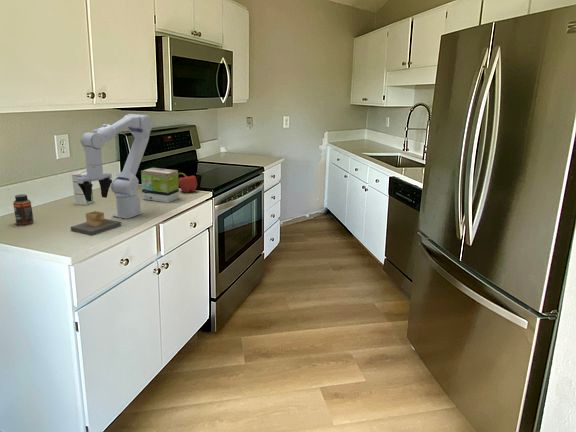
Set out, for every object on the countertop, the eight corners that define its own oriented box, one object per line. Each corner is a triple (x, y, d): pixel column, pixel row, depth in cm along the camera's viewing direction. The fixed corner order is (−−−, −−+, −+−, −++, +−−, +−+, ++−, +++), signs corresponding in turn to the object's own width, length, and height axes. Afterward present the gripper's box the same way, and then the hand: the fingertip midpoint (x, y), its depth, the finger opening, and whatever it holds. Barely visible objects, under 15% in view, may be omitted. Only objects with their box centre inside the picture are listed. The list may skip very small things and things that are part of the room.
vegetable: (173, 192, 225) (172, 174, 223) (183, 188, 235) (183, 170, 232) (191, 194, 222) (190, 175, 219) (201, 190, 232) (200, 172, 229)
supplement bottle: (37, 221, 170) (33, 193, 167) (28, 225, 164) (24, 197, 161) (21, 220, 170) (17, 193, 167) (12, 225, 164) (8, 196, 161)
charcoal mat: (100, 221, 173) (100, 217, 172) (120, 225, 168) (120, 222, 168) (71, 230, 161) (70, 226, 160) (92, 235, 156) (91, 231, 156)
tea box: (141, 199, 208) (140, 170, 204) (153, 195, 218) (152, 167, 214) (168, 203, 204) (167, 172, 200) (179, 198, 214) (178, 169, 209)
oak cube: (96, 221, 167) (95, 210, 166) (104, 223, 165) (103, 212, 164) (86, 224, 163) (85, 213, 162) (95, 226, 161) (94, 215, 160)
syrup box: (85, 205, 195) (82, 174, 191) (74, 204, 196) (71, 173, 192) (93, 202, 201) (90, 172, 197) (82, 201, 202) (79, 171, 198)
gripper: (101, 161, 171) (103, 194, 174) (70, 165, 158) (73, 200, 161) (114, 163, 168) (116, 196, 171) (84, 167, 155) (86, 203, 159)
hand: (96, 199), depth 166 cm, fingers open, 7 cm apart
